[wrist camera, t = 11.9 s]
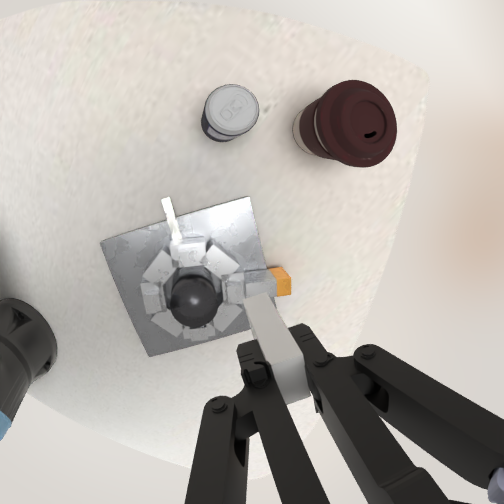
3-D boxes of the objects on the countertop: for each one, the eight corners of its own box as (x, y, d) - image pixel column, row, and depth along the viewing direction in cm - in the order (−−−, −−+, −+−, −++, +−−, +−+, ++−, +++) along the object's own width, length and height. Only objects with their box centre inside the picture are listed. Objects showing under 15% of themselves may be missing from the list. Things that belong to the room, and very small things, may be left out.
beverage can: (250, 121, 40) (273, 107, 29) (222, 150, 41) (235, 146, 29) (220, 94, 38) (232, 70, 27) (192, 123, 39) (192, 109, 27)
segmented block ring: (138, 243, 41) (132, 253, 36) (280, 229, 44) (290, 236, 40) (154, 331, 45) (151, 348, 40) (282, 315, 48) (291, 330, 44)
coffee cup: (290, 90, 40) (336, 62, 26) (350, 111, 42) (411, 97, 28) (276, 154, 42) (318, 152, 28) (337, 171, 44) (396, 179, 30)
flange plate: (149, 353, 47) (145, 384, 40) (95, 221, 40) (76, 234, 32) (287, 313, 50) (304, 339, 42) (254, 172, 42) (268, 175, 35)
